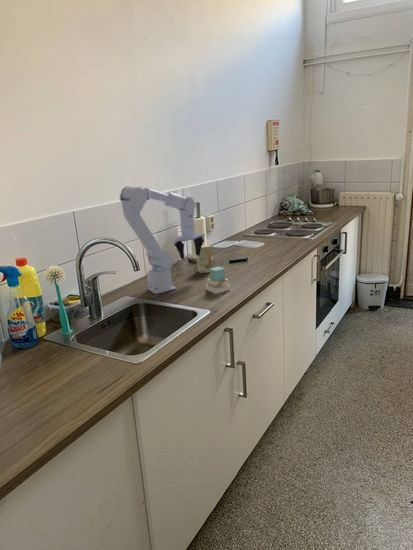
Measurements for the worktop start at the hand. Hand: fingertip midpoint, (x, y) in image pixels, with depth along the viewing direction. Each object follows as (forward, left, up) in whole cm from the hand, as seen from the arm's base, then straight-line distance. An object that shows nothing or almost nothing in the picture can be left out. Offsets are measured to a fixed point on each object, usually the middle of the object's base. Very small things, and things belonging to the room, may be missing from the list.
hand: (190, 256), depth 179 cm
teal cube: (+2, -19, -6) cm, 20 cm away
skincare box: (+11, +7, -11) cm, 17 cm away
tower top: (+2, -19, -9) cm, 21 cm away
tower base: (+2, -19, -11) cm, 22 cm away
